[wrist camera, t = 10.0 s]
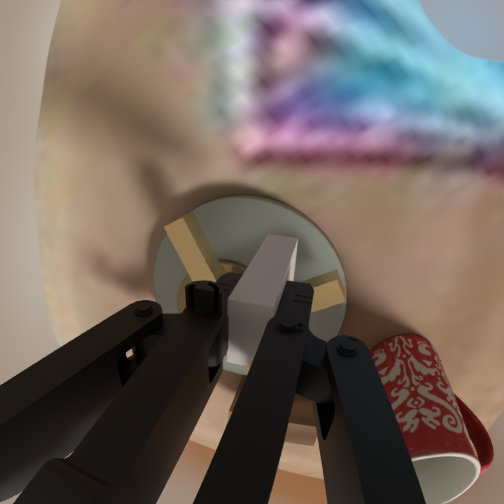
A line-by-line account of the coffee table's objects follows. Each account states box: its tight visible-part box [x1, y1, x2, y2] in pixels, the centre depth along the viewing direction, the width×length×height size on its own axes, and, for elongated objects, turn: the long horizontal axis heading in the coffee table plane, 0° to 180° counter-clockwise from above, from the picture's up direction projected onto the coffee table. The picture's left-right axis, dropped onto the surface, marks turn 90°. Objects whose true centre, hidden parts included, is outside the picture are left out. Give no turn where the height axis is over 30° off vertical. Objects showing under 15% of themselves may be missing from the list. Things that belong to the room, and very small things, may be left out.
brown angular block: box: [229, 375, 317, 446], centre depth 28 cm, size 4×8×5 cm, turn 86°
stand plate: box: [153, 195, 347, 375], centre depth 26 cm, size 16×16×2 cm
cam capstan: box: [164, 211, 346, 374], centre depth 23 cm, size 16×16×7 cm
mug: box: [370, 335, 494, 504], centre depth 20 cm, size 13×9×14 cm
